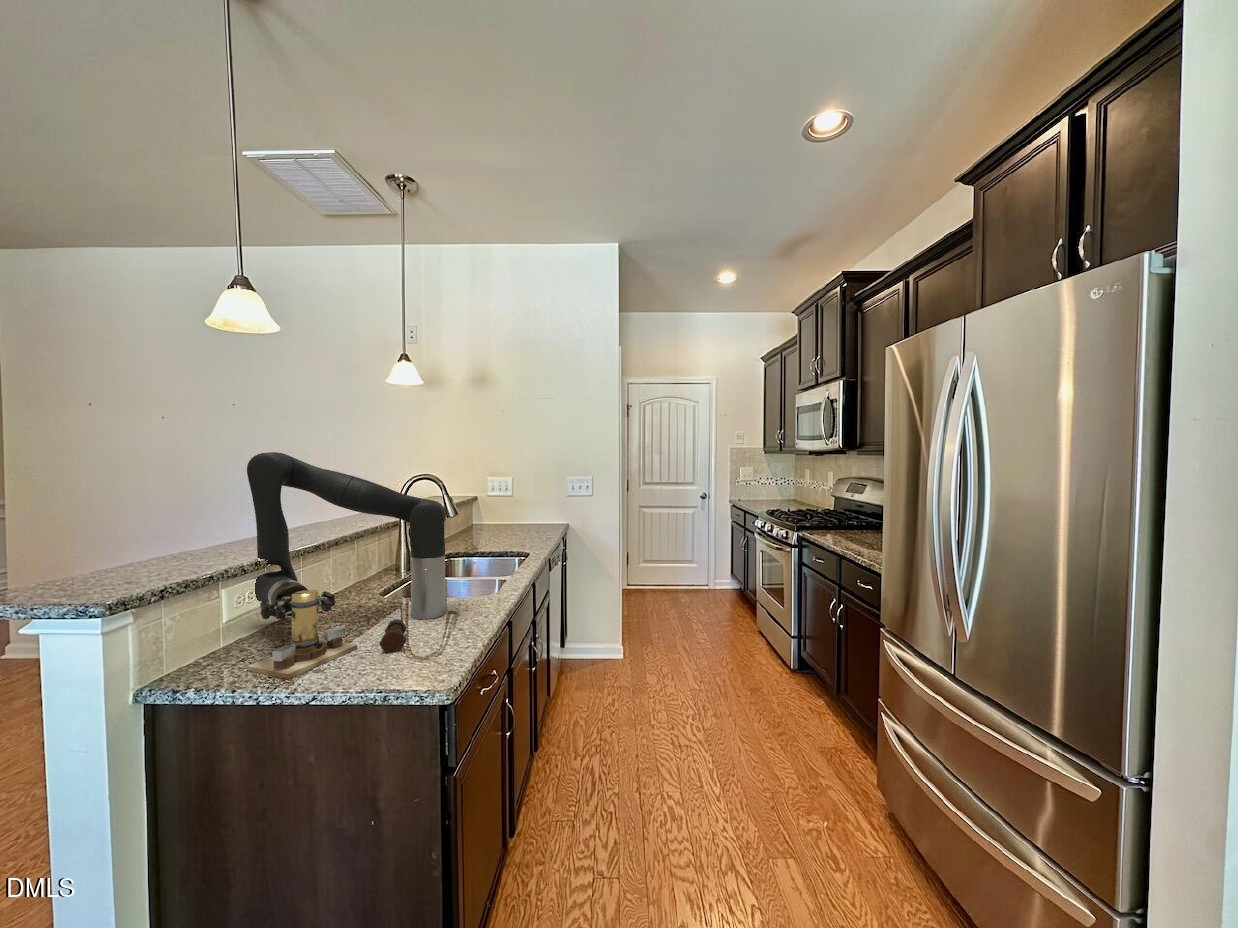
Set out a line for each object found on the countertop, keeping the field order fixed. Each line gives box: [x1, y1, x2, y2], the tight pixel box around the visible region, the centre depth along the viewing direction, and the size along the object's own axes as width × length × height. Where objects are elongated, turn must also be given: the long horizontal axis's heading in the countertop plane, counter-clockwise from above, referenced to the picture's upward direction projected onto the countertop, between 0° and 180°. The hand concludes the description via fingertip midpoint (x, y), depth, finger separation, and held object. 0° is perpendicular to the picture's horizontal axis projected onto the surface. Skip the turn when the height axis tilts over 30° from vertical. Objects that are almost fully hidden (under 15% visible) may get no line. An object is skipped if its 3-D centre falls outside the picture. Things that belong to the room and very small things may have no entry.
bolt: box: [378, 619, 408, 654], centre depth 120 cm, size 6×5×15 cm
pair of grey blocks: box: [271, 625, 346, 661], centre depth 108 cm, size 17×3×2 cm, turn 161°
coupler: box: [290, 589, 320, 654], centre depth 109 cm, size 5×5×14 cm
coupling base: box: [246, 637, 358, 680], centre depth 109 cm, size 17×12×3 cm
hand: (306, 611), depth 108 cm, fingers open, 8 cm apart
